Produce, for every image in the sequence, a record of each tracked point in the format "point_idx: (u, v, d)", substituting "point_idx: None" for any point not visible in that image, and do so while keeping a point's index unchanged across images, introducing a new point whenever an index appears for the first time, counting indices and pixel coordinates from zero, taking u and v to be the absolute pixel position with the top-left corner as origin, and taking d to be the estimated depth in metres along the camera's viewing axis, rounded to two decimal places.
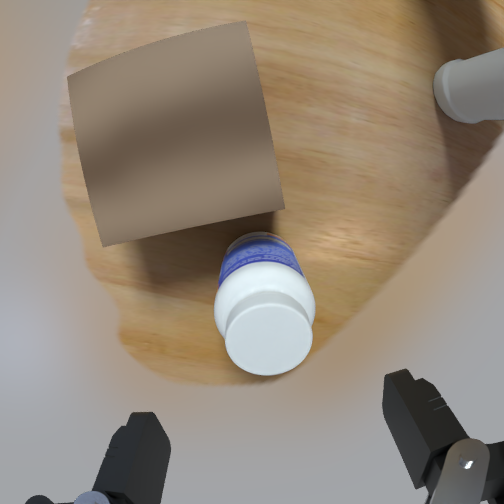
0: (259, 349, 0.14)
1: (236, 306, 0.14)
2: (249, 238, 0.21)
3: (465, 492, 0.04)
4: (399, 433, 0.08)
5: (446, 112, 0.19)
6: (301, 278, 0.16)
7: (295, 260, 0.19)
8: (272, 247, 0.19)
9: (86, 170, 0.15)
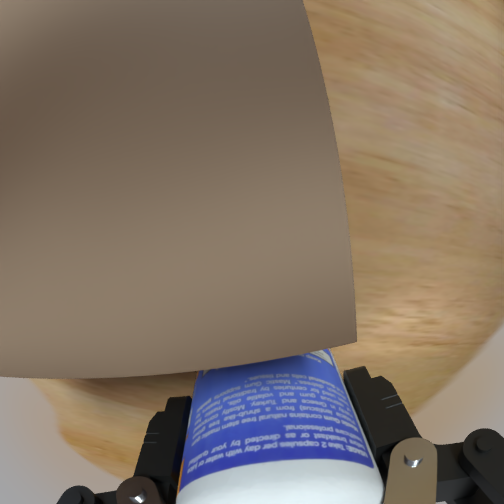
0: None
1: None
2: None
3: (418, 490, 0.05)
4: None
5: None
6: (372, 483, 0.05)
7: (346, 401, 0.08)
8: (301, 383, 0.08)
9: None
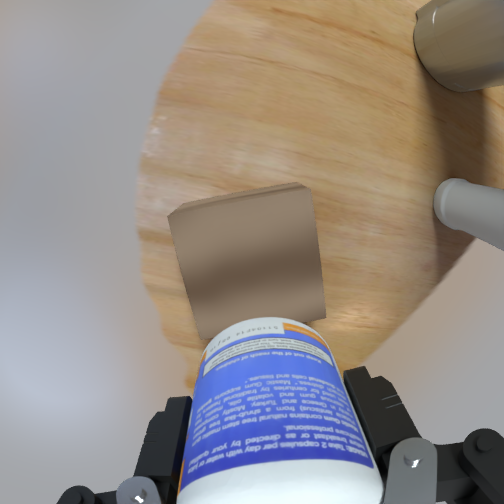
0: None
1: None
2: (248, 341, 0.10)
3: (418, 490, 0.05)
4: None
5: None
6: (372, 483, 0.05)
7: (346, 402, 0.08)
8: (301, 384, 0.08)
9: (189, 290, 0.23)
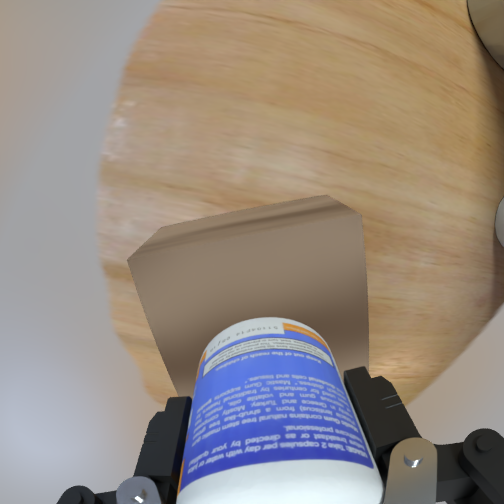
0: None
1: None
2: (248, 341, 0.10)
3: (417, 490, 0.05)
4: None
5: (502, 244, 0.19)
6: (372, 484, 0.05)
7: (346, 402, 0.08)
8: (301, 384, 0.08)
9: (170, 365, 0.15)
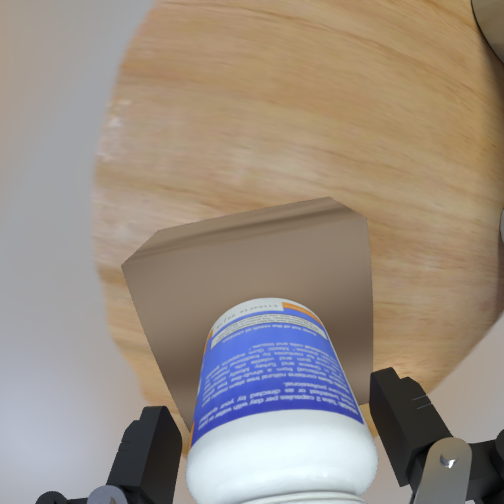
0: None
1: None
2: (251, 317, 0.11)
3: (449, 491, 0.04)
4: (384, 431, 0.08)
5: None
6: (362, 436, 0.06)
7: (339, 369, 0.09)
8: (299, 350, 0.09)
9: (166, 375, 0.14)
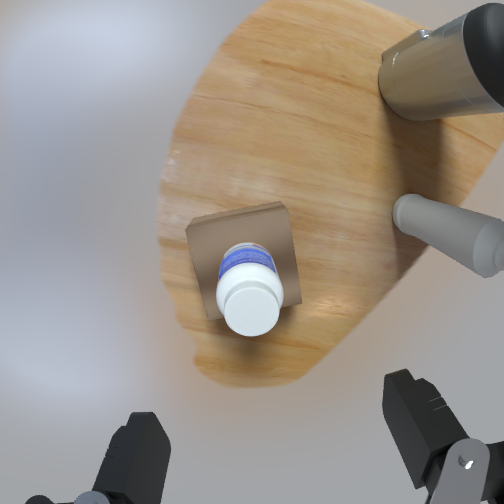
0: (245, 317, 0.22)
1: (231, 290, 0.23)
2: (239, 247, 0.29)
3: (465, 492, 0.04)
4: (399, 433, 0.08)
5: None
6: (273, 273, 0.25)
7: (271, 262, 0.27)
8: (255, 253, 0.27)
9: (200, 283, 0.32)
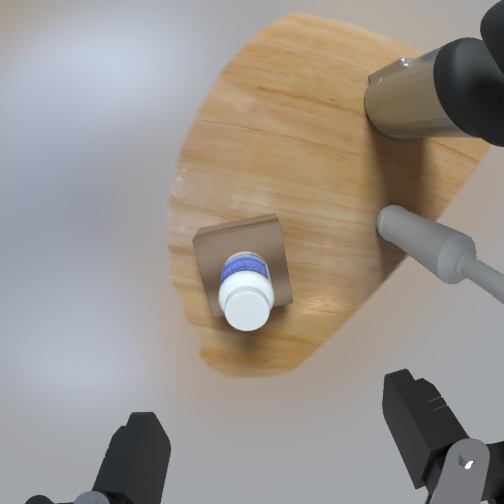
0: (242, 315, 0.28)
1: (230, 293, 0.28)
2: (238, 256, 0.35)
3: (465, 492, 0.04)
4: (399, 433, 0.08)
5: None
6: (265, 279, 0.30)
7: (264, 269, 0.33)
8: (251, 262, 0.33)
9: (205, 285, 0.37)
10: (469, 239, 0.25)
